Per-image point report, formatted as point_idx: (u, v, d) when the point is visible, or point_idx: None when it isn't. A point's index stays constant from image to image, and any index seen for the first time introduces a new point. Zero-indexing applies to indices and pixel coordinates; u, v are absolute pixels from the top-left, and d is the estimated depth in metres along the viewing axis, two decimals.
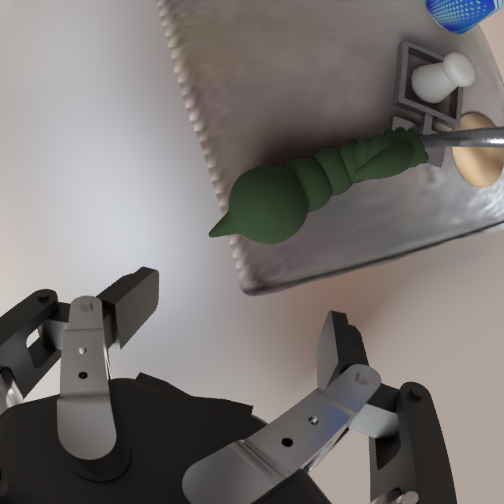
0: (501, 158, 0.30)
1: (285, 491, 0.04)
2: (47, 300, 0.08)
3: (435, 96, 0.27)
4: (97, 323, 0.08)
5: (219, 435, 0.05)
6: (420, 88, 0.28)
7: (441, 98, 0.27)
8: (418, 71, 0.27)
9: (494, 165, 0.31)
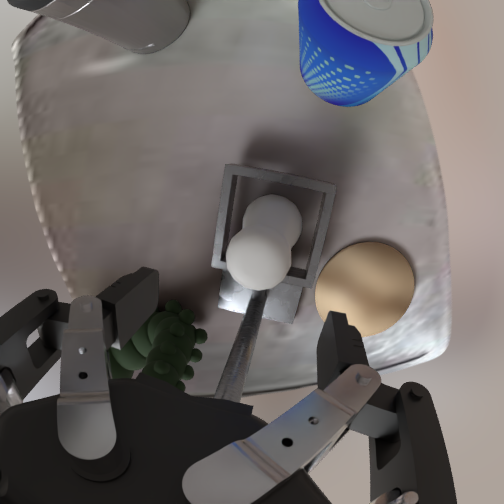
0: (406, 297, 0.29)
1: (285, 491, 0.04)
2: (47, 300, 0.08)
3: None
4: (97, 323, 0.08)
5: (219, 435, 0.05)
6: None
7: None
8: (245, 215, 0.26)
9: (391, 308, 0.30)
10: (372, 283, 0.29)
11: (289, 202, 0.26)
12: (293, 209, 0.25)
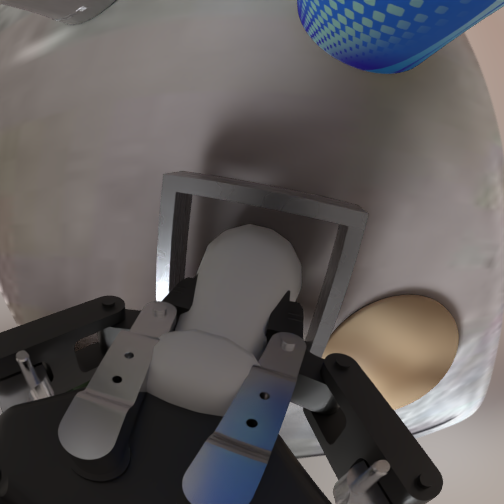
0: (445, 365, 0.18)
1: (270, 468, 0.05)
2: (114, 308, 0.09)
3: None
4: (162, 332, 0.08)
5: None
6: None
7: None
8: None
9: (423, 379, 0.19)
10: (402, 352, 0.18)
11: (279, 240, 0.15)
12: (287, 255, 0.14)
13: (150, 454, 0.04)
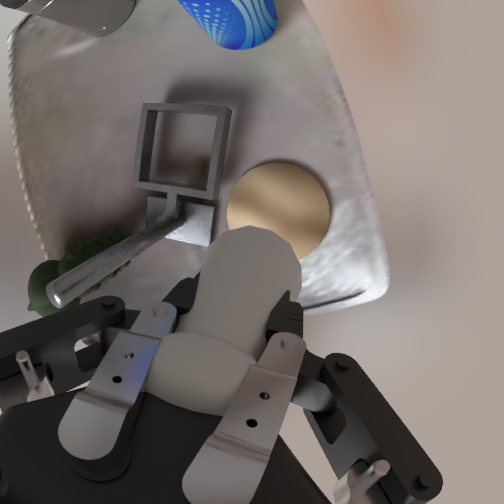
0: (322, 219, 0.32)
1: (270, 468, 0.05)
2: (114, 308, 0.09)
3: None
4: (162, 332, 0.08)
5: None
6: None
7: None
8: None
9: (307, 231, 0.33)
10: (281, 203, 0.32)
11: (279, 242, 0.15)
12: (287, 256, 0.14)
13: (150, 454, 0.04)
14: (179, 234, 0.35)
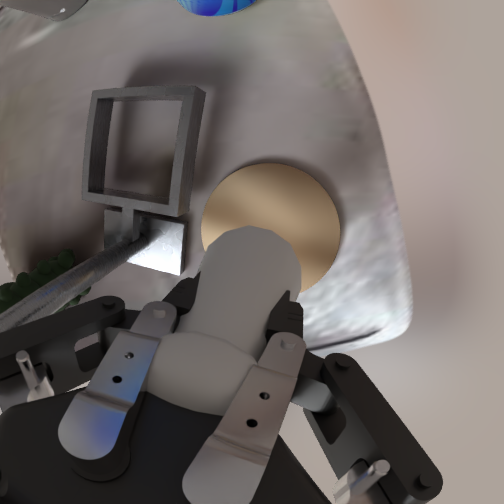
0: (330, 241, 0.23)
1: (270, 468, 0.05)
2: (114, 308, 0.09)
3: None
4: (162, 332, 0.08)
5: None
6: None
7: None
8: None
9: (310, 257, 0.24)
10: (274, 219, 0.23)
11: (279, 242, 0.15)
12: (286, 256, 0.14)
13: (150, 454, 0.04)
14: (143, 259, 0.26)
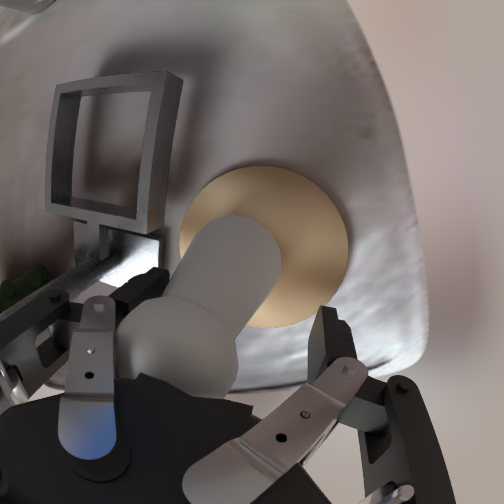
0: (336, 263, 0.19)
1: (283, 486, 0.04)
2: (59, 300, 0.08)
3: None
4: (109, 323, 0.08)
5: (219, 435, 0.05)
6: None
7: None
8: None
9: (310, 281, 0.20)
10: None
11: (259, 229, 0.16)
12: (265, 242, 0.15)
13: (144, 437, 0.05)
14: (116, 278, 0.22)
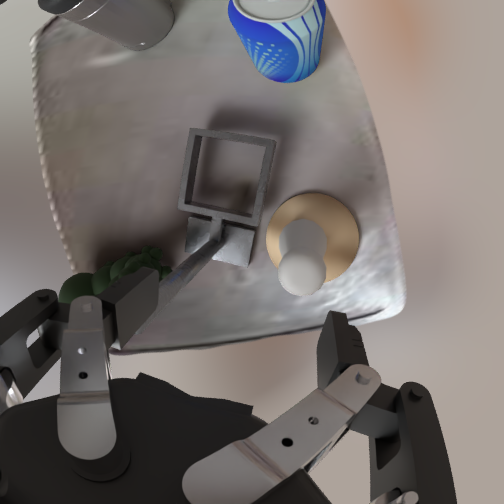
0: (352, 246, 0.35)
1: (285, 491, 0.04)
2: (47, 300, 0.08)
3: None
4: (97, 323, 0.08)
5: (219, 435, 0.05)
6: None
7: None
8: (282, 235, 0.32)
9: (338, 256, 0.36)
10: None
11: (317, 226, 0.32)
12: (321, 232, 0.31)
13: (142, 434, 0.05)
14: (219, 255, 0.38)
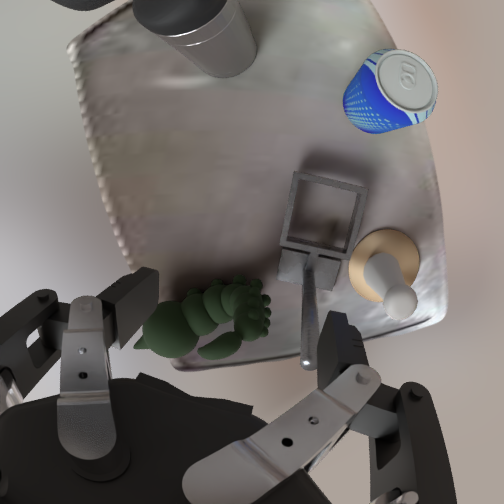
0: (414, 271, 0.40)
1: (285, 491, 0.04)
2: (47, 300, 0.08)
3: None
4: (97, 323, 0.08)
5: (219, 435, 0.05)
6: (368, 284, 0.38)
7: None
8: (370, 268, 0.37)
9: None
10: None
11: (395, 259, 0.37)
12: None
13: (141, 434, 0.05)
14: None
